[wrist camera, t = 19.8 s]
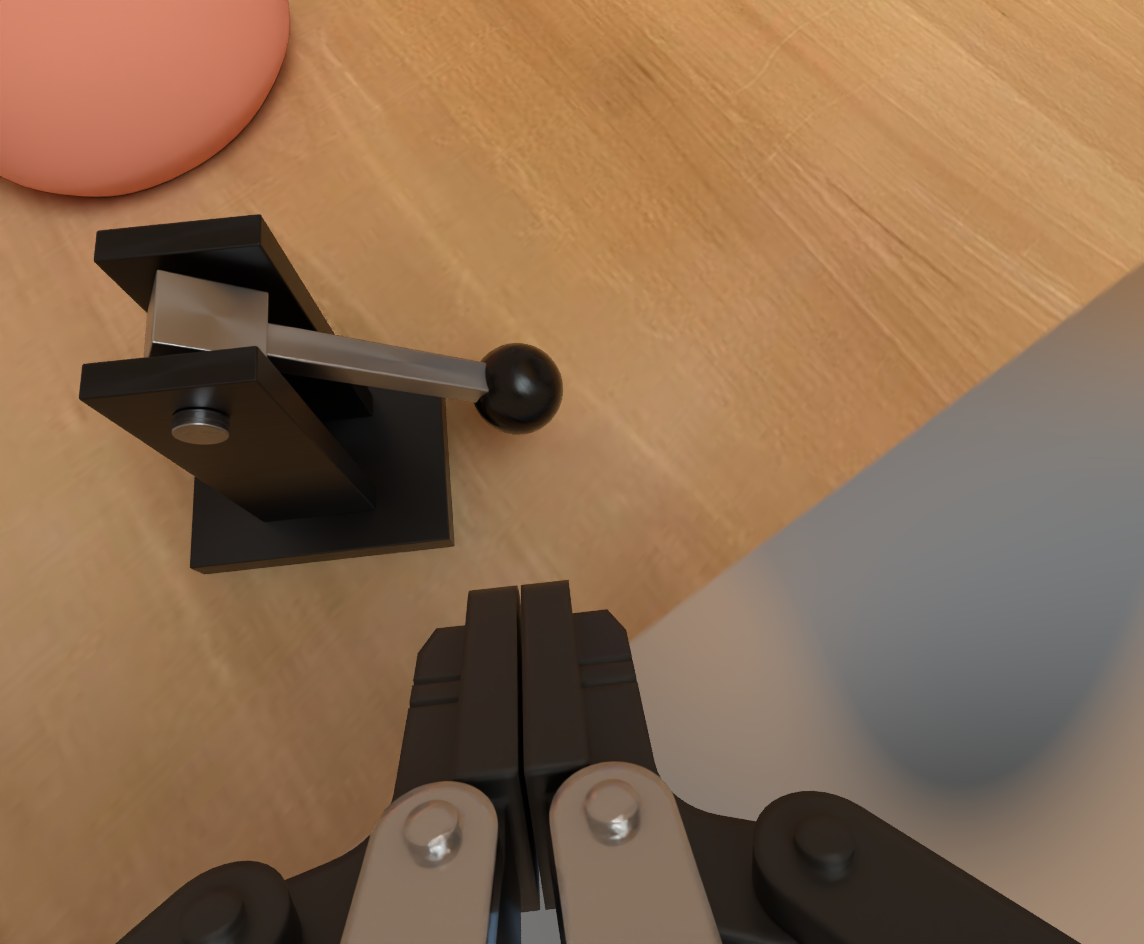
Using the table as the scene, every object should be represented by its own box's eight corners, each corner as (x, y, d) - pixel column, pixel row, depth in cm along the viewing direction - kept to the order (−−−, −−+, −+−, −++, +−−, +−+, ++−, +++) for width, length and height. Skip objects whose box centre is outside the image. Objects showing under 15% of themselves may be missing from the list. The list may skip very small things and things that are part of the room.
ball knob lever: (443, 367, 33) (363, 158, 21) (454, 546, 31) (371, 424, 18) (212, 392, 33) (-4, 194, 21) (204, 574, 30) (-48, 469, 18)
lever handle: (530, 375, 29) (574, 335, 27) (538, 452, 28) (585, 419, 26) (146, 305, 22) (160, 243, 20) (138, 404, 21) (151, 352, 19)
